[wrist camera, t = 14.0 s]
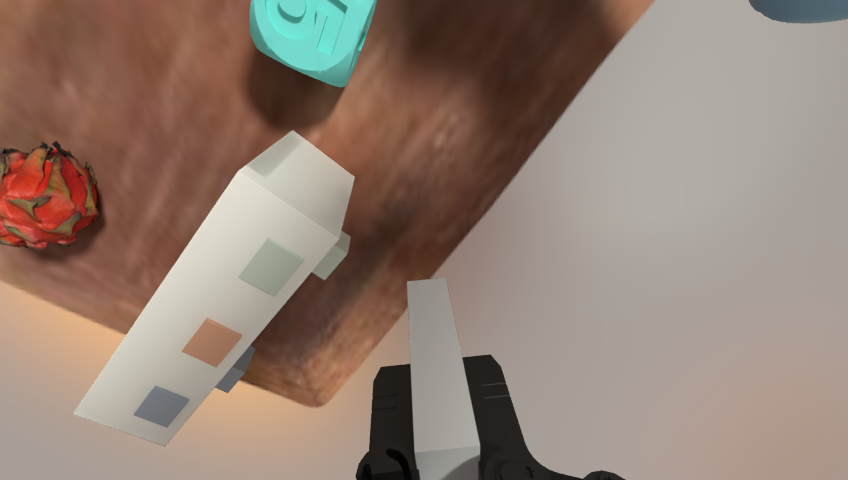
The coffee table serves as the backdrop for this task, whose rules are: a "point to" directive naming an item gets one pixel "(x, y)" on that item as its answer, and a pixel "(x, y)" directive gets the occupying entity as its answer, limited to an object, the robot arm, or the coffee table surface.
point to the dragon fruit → (44, 197)
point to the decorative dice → (313, 34)
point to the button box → (223, 289)
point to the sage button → (333, 257)
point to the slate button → (236, 371)
